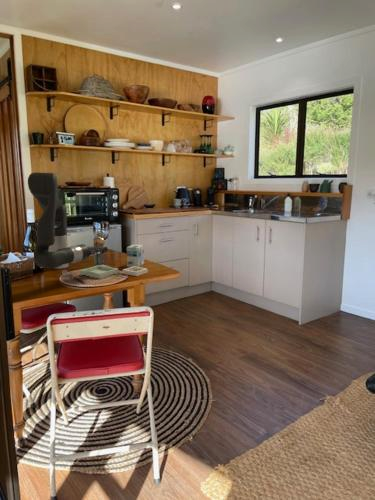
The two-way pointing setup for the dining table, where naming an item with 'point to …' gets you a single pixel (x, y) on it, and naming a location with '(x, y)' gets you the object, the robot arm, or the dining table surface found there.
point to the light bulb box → (135, 255)
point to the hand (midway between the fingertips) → (102, 248)
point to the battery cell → (99, 244)
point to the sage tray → (99, 271)
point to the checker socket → (133, 272)
